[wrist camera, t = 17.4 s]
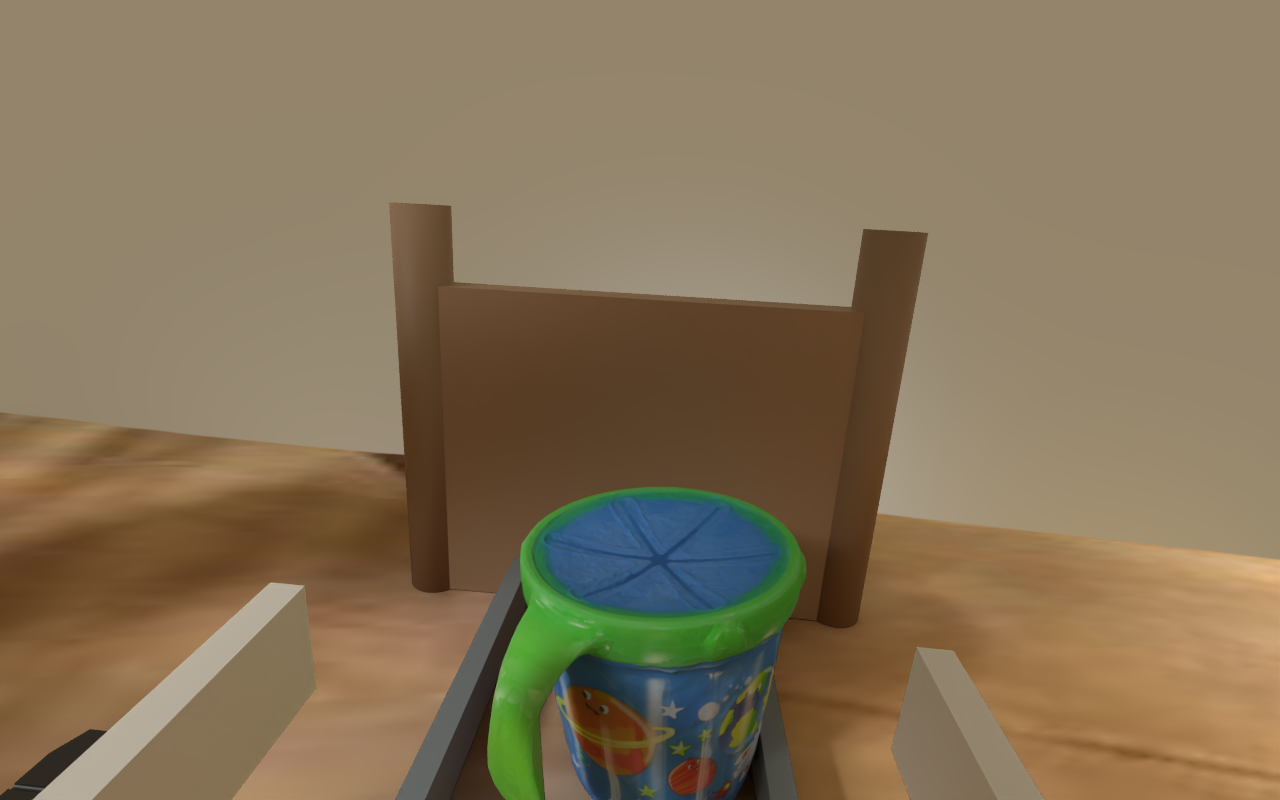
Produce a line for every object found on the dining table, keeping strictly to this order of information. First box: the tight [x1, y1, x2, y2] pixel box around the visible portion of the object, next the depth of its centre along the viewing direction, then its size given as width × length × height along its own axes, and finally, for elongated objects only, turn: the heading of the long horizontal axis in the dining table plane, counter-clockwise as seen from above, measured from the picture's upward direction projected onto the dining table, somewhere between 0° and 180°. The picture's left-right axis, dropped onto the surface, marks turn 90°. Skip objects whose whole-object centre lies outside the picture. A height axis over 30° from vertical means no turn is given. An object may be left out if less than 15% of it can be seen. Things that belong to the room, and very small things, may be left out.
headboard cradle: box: [389, 203, 928, 800], centre depth 26 cm, size 27×20×22 cm
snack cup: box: [487, 487, 806, 800], centre depth 25 cm, size 16×10×10 cm
